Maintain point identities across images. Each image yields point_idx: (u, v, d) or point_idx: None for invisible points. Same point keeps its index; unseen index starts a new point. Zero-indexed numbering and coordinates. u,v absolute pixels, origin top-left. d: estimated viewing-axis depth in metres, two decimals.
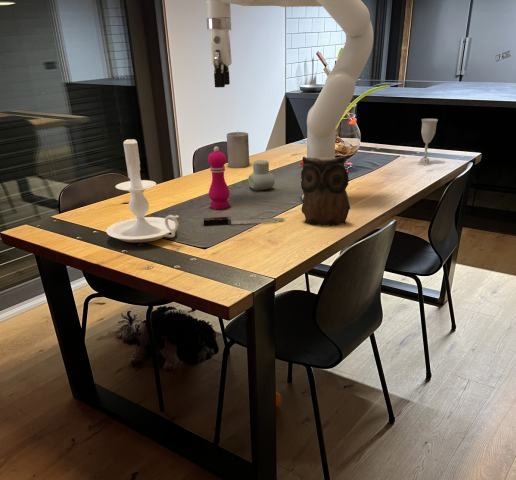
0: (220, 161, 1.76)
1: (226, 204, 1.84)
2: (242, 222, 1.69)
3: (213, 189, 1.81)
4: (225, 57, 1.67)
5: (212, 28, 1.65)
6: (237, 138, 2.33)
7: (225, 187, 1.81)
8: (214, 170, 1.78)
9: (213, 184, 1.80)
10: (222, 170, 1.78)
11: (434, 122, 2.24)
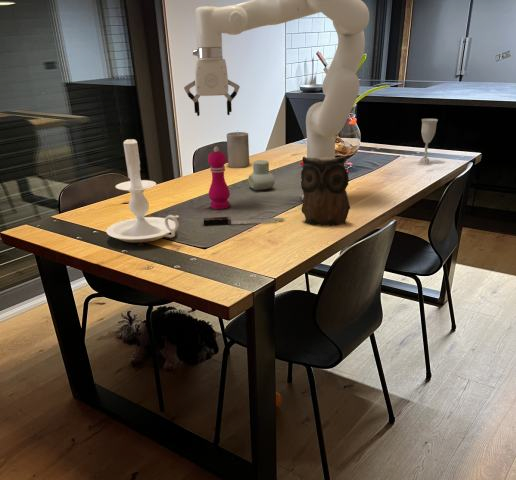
0: (220, 161, 1.76)
1: (226, 204, 1.84)
2: (242, 222, 1.69)
3: (213, 189, 1.81)
4: (196, 87, 1.65)
5: None
6: (237, 138, 2.33)
7: (225, 187, 1.81)
8: (214, 170, 1.78)
9: (213, 184, 1.80)
10: (222, 170, 1.78)
11: (434, 122, 2.24)
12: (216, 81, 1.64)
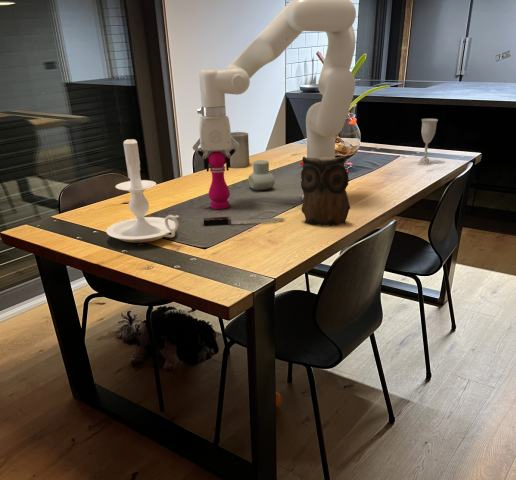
0: (220, 160, 1.76)
1: (226, 204, 1.84)
2: (242, 222, 1.69)
3: (213, 189, 1.81)
4: (200, 143, 1.73)
5: None
6: (237, 138, 2.33)
7: (225, 187, 1.81)
8: (214, 170, 1.78)
9: (213, 184, 1.80)
10: (222, 170, 1.78)
11: (434, 122, 2.24)
12: (220, 137, 1.72)
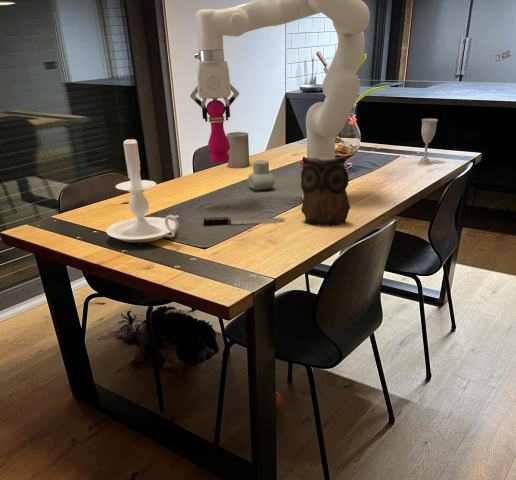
0: (218, 109, 1.68)
1: (226, 157, 1.76)
2: (242, 222, 1.69)
3: (212, 140, 1.73)
4: (198, 90, 1.65)
5: None
6: (237, 138, 2.33)
7: (225, 138, 1.73)
8: (213, 120, 1.70)
9: (212, 135, 1.72)
10: (221, 120, 1.70)
11: (434, 122, 2.24)
12: (218, 84, 1.64)
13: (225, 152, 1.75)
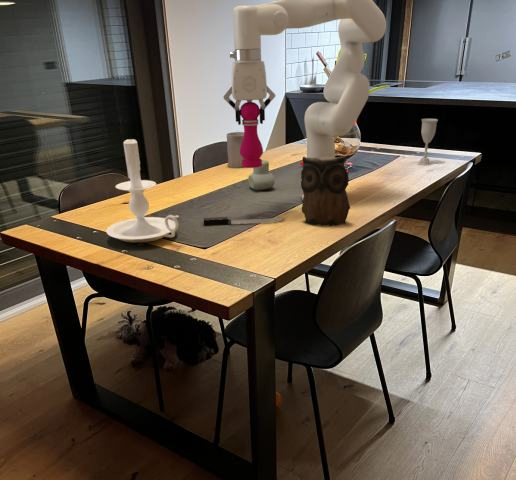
0: (253, 112, 1.58)
1: (259, 162, 1.66)
2: (242, 222, 1.69)
3: (245, 144, 1.63)
4: (232, 91, 1.56)
5: None
6: (237, 138, 2.33)
7: (258, 143, 1.64)
8: (247, 123, 1.60)
9: (245, 139, 1.63)
10: (255, 123, 1.61)
11: (434, 122, 2.24)
12: (254, 85, 1.55)
13: (258, 157, 1.66)
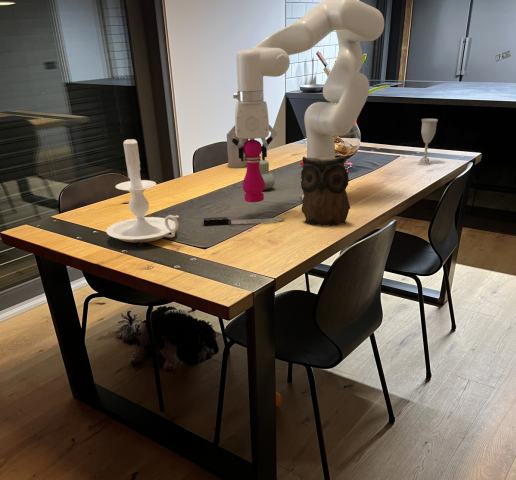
0: (256, 149, 1.63)
1: (261, 197, 1.71)
2: (242, 222, 1.69)
3: (248, 180, 1.68)
4: (236, 130, 1.61)
5: None
6: (237, 138, 2.33)
7: (260, 178, 1.69)
8: (249, 160, 1.65)
9: (248, 175, 1.68)
10: (258, 160, 1.66)
11: (434, 122, 2.24)
12: (257, 124, 1.60)
13: (260, 192, 1.71)
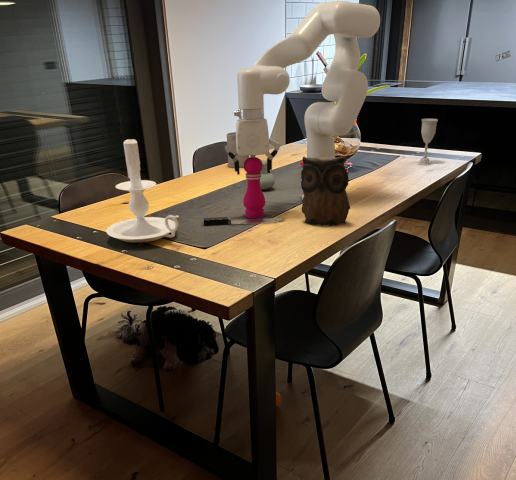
0: (257, 167, 1.66)
1: (262, 213, 1.74)
2: (242, 222, 1.69)
3: (248, 197, 1.71)
4: (237, 147, 1.63)
5: None
6: None
7: (261, 195, 1.71)
8: (250, 177, 1.68)
9: (248, 192, 1.71)
10: (258, 177, 1.68)
11: (434, 122, 2.24)
12: (257, 141, 1.62)
13: (261, 208, 1.73)
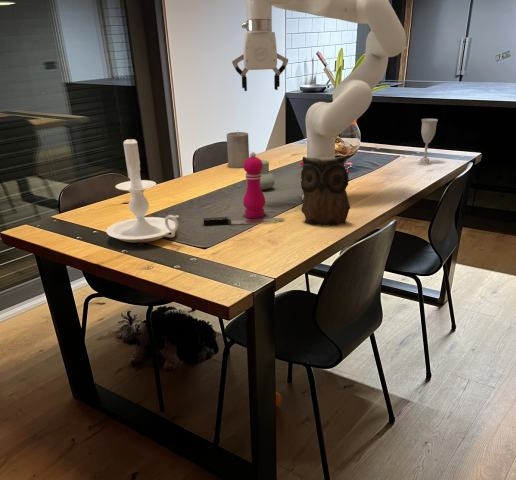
0: (257, 167, 1.66)
1: (262, 213, 1.74)
2: (242, 222, 1.69)
3: (248, 197, 1.71)
4: (244, 61, 1.62)
5: None
6: (237, 138, 2.33)
7: (261, 195, 1.71)
8: (250, 177, 1.68)
9: (248, 192, 1.71)
10: (258, 177, 1.68)
11: (434, 122, 2.24)
12: (265, 54, 1.61)
13: (261, 208, 1.73)
